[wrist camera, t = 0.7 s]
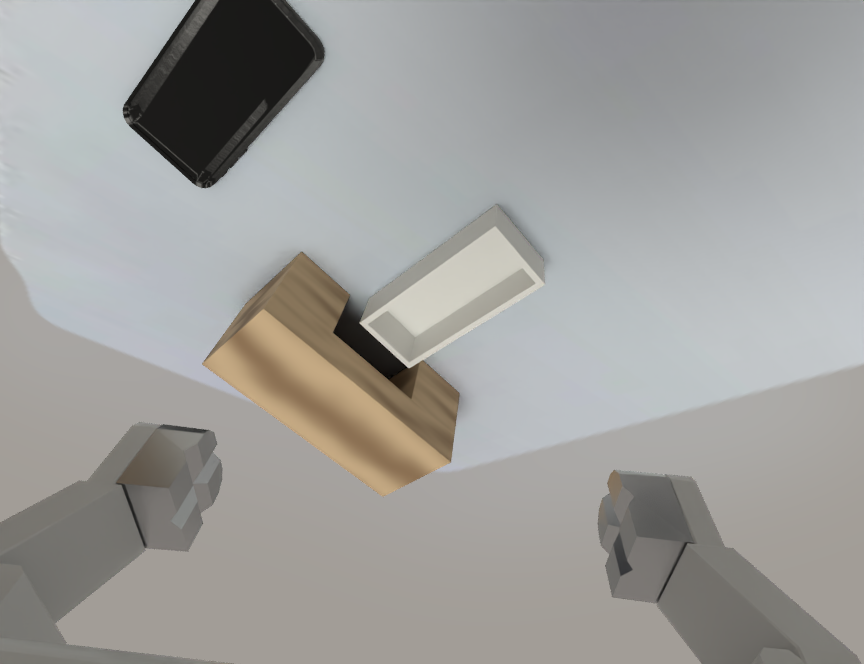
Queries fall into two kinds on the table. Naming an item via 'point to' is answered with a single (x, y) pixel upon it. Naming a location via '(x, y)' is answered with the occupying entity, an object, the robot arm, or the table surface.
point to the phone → (221, 83)
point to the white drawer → (455, 288)
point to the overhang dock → (335, 383)
